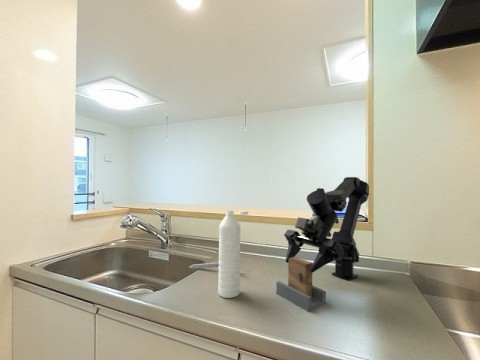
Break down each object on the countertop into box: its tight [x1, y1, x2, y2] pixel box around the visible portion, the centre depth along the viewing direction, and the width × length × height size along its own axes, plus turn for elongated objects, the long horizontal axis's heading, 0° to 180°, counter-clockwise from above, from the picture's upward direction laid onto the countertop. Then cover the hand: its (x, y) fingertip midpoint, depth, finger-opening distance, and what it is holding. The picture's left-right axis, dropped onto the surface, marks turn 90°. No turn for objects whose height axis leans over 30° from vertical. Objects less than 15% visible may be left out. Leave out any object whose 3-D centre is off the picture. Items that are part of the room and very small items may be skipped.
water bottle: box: [217, 210, 249, 299], centre depth 71 cm, size 9×6×25 cm
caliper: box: [188, 261, 219, 270], centre depth 89 cm, size 20×1×6 cm, turn 73°
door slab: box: [287, 256, 313, 298], centre depth 68 cm, size 4×6×10 cm, turn 34°
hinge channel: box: [275, 280, 327, 312], centre depth 68 cm, size 7×12×4 cm, turn 34°
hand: (298, 266), depth 68 cm, fingers open, 9 cm apart
